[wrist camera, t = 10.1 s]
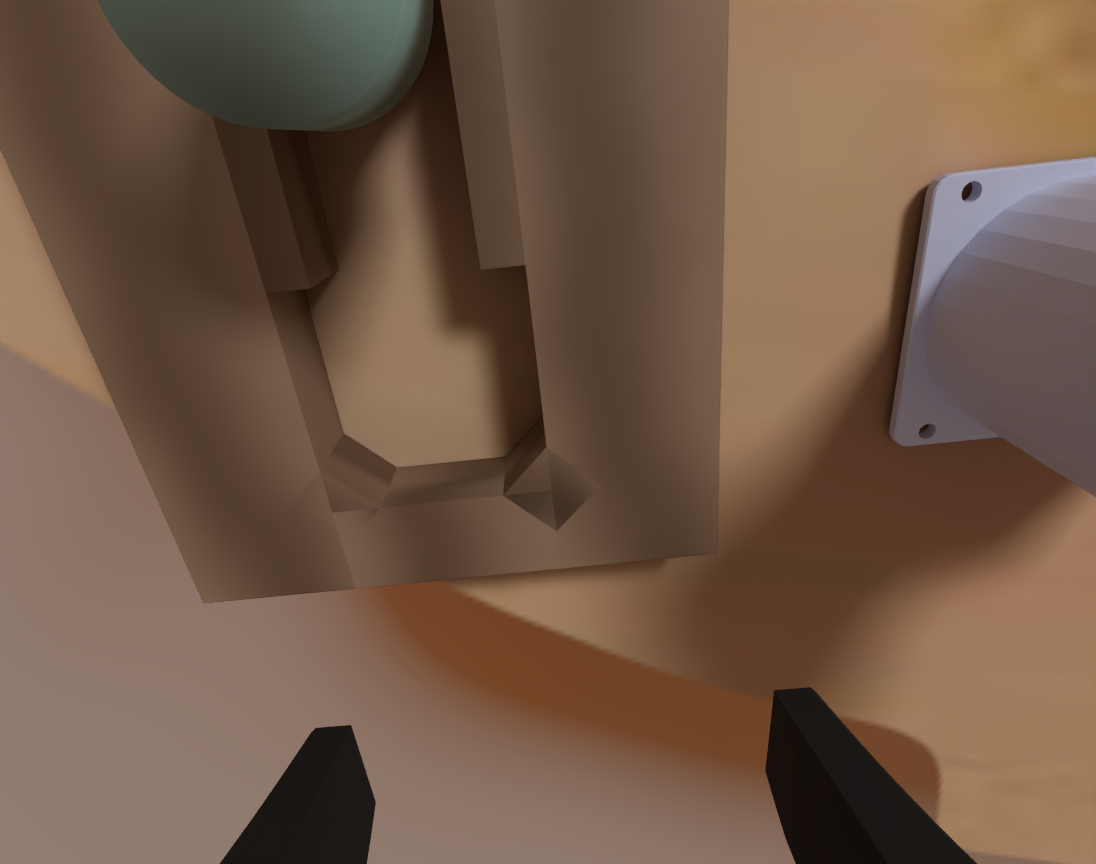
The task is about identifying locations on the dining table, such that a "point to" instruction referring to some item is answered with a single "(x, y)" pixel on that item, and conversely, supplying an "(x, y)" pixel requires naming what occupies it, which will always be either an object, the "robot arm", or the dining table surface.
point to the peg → (280, 56)
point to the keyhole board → (308, 258)
